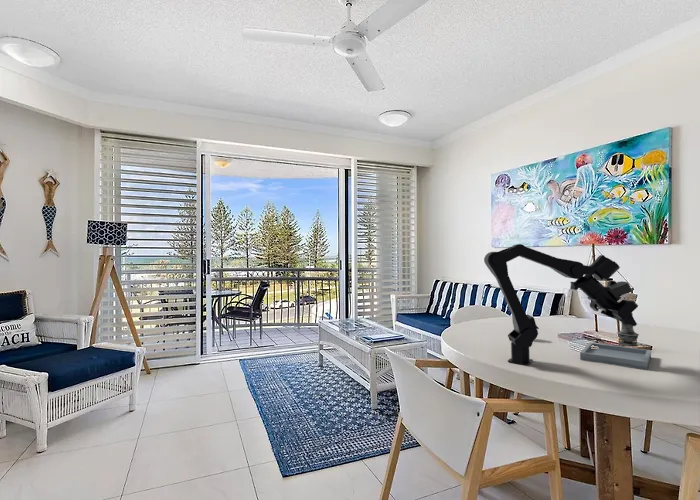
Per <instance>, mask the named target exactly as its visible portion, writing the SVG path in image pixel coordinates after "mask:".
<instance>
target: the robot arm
mask: <svg viewBox="0 0 700 500" xmlns="http://www.w3.org/2000/svg"><path fill="white" fill-rule="evenodd" d="M518 257H520V258H523V259H525V260H529V261H531V262H534V263H536V264H539V265H540V266H541V265H542V266H544V267H548V268H550V269H551V270H553V271H554V272H556V273H558V274H559V275H560V276H562V277H564V278H568V279H573V280H575V281H570V286H569V288H570V290H573V291H578V289H579V290H581V291H582V292H583V293H584V294H585V295H586V296H587V299H588V300H589V301H590V302H589V308H590V309H592V310H593V311H595V312H599V310H601V311H600V314H603V315H604V316H606V317H609V318H611V319H614V320H616V321H618V322H621V321H623V322H625V323H628V324H630V325H632V326H633V327H636V326H637V325H638V323H637V322H636V320H635V318H634V316H632V315H631V313H632V314H633V312H634V311H635V310H636V309H637V308H638V307H639V305H638V304H637V303H636V302H635V301H634V300H629V299H622V296H623V295H624V296H625V295H626V294H631V293H632V292H633V289H632V287H631V286H630V283H629V282H628V281H615V280H609V279H610V278H611V277H612V276H613V275H614V274H616V272H617V271H618V270H620V268H621V267H620V265H619V264H618V263H617V262H616V261H614V260H612V259H610V258H608V257H606V256H605V255H603V254H602V255H601V254H600V255H598V257H597V258H596V259H595V260H594V261H593V262H592V263H591V264H589V265H585V264H583V263H582V262H580V261H577V260H570V259H566V258H565V259H563V258H559V257H556V256H553V255H550V254H548V253H547V254H546V253H545V252H541V251H539V250H536V249H534V248H530V247H527V246H525V245H524V244H521V243H518V244H517V243H516V244H514V245H512V246H510V247H507V248H505V249H500V250H499V251H490V252H488V253H486V255H484V258H483V259H484V265H485V266H486V268H487V269H488V270H489V272H491V274H492V275H493V277H494V278H495V279H496V281H497V284H498V287H499V288H500V291H501V293H502V295H503V297H504V298H503V299H504V300H505V302H506V304H507V307H508V310H509V311H510V314H511V317H512V318H511V319H512V325H513V329H512V331H510V332H509V333H508V334H507V338H508V340H509V341H510V353H511V355H510V357H511V358H509V359H507V362H508V363H512V364H513V363H514V364H518V365H523V366H528V365H530V364H531V363H533V362H534V359H532V358H530V348H532V346H533V344H534V343H533V342H534V341H536V339H537V337H538V335H539V331H538V330H539V329H540V328H539V327H538V326H537V324H536V320H535V318H534V316H532V315H530V314H527V313H526V312H525V309H524V308H523V304H522V303H521V301H520V298H519V296H518V294H517V292H516V290H515V288H514V284H513V282H512V281H511V279H510V276H509V269H508V267H509V266H508V262H510V261H512V260H514V259H516V258H518ZM608 280H609V281H608ZM600 281H607V286H604V285H603V284H602V283H601V282H600ZM621 299H622V300H621ZM620 300H621V301H620Z"/></svg>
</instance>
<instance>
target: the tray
mask: <svg viewBox="0 0 700 500" xmlns="http://www.w3.org/2000/svg"><path fill="white" fill-rule="evenodd" d="M592 345H594V346H598V347H599V349H591V346H592ZM651 354H652V351H651V349H645V348H639V347H638V348H637V347H631V346H623V345H612V344H605V343H597V342H596V343H595V342H588V344H587V345H586V346H584V348H583V349H582V350H581V351H580V352H579V356H580V357H579V359H580V360H581V361H586V362H591V363H600V364H604V365H605V364H606V365H610V366H611V365H613V366H618V367H619V366H620V367H625V368H629V369H630V368H631V369H637V370H645V371H648V368H649V365H650V362H651V358H652V356H651Z"/></svg>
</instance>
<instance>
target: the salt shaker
mask: <svg viewBox="0 0 700 500" xmlns="http://www.w3.org/2000/svg"><path fill="white" fill-rule="evenodd" d="M631 315H632V316H633V312H632V313H631ZM633 317H634V316H633ZM620 323H621V330H620V331H616V334H617V337H618V338H619V340H620V341H619V342H617V344H618V345H619V346H623V347H638V346H639V344H638V343H635V342H636V341H637V340H638V336H640V334H639V333H636V332H635V330H634V326H632V325H630V324H628V323H625V322H623V321H620Z"/></svg>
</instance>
